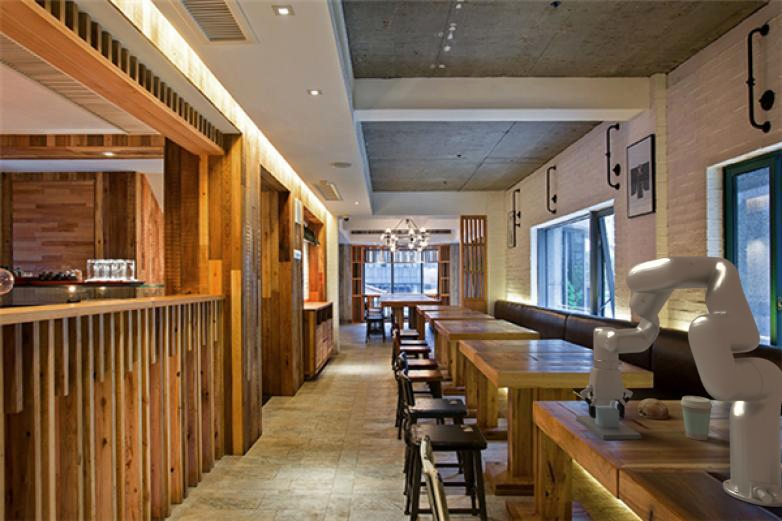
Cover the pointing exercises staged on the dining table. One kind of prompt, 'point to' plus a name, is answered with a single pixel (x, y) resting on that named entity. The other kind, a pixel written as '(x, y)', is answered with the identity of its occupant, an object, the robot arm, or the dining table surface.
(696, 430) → the coffee cup
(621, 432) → the board
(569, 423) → the dining table surface
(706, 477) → the dining table surface
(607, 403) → the mug
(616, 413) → the cube
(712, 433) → the dining table surface
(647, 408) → the bread roll
